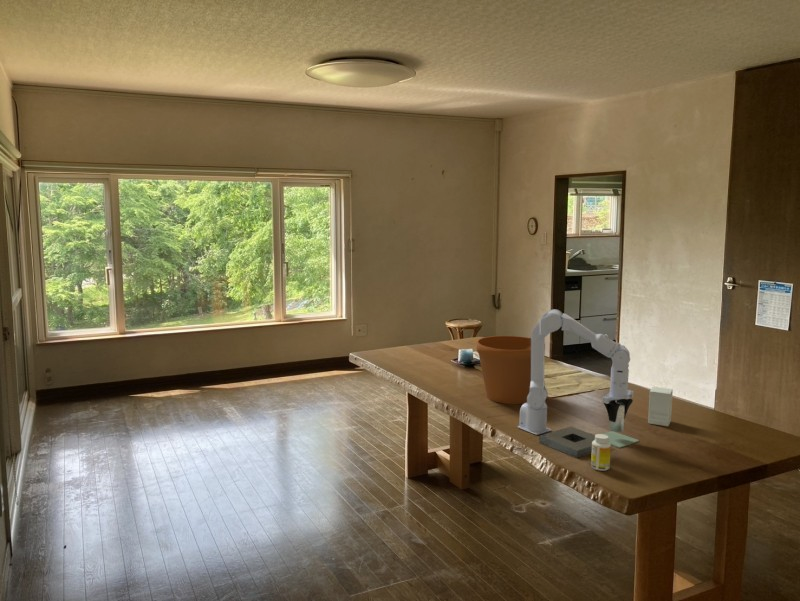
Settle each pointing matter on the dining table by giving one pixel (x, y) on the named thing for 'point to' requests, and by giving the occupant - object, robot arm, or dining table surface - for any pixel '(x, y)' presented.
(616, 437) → the mat
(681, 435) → the dining table surface
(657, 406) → the supplement box
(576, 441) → the socket block
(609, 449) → the supplement bottle
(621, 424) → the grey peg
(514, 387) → the flowerpot
